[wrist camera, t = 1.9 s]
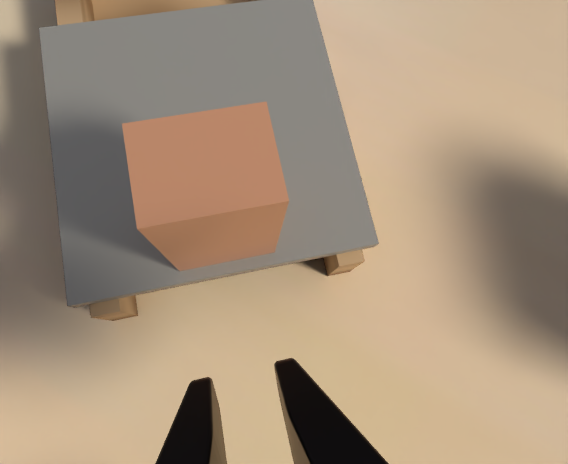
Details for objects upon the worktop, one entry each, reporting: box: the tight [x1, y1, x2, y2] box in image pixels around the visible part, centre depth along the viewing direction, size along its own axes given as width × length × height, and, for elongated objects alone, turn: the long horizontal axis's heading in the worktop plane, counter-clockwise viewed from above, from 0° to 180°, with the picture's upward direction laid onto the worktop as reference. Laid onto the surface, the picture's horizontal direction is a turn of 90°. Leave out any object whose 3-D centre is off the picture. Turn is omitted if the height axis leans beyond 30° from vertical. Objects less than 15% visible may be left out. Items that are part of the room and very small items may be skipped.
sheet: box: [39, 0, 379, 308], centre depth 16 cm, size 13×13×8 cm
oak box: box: [55, 0, 365, 321], centre depth 23 cm, size 20×12×3 cm, turn 12°
